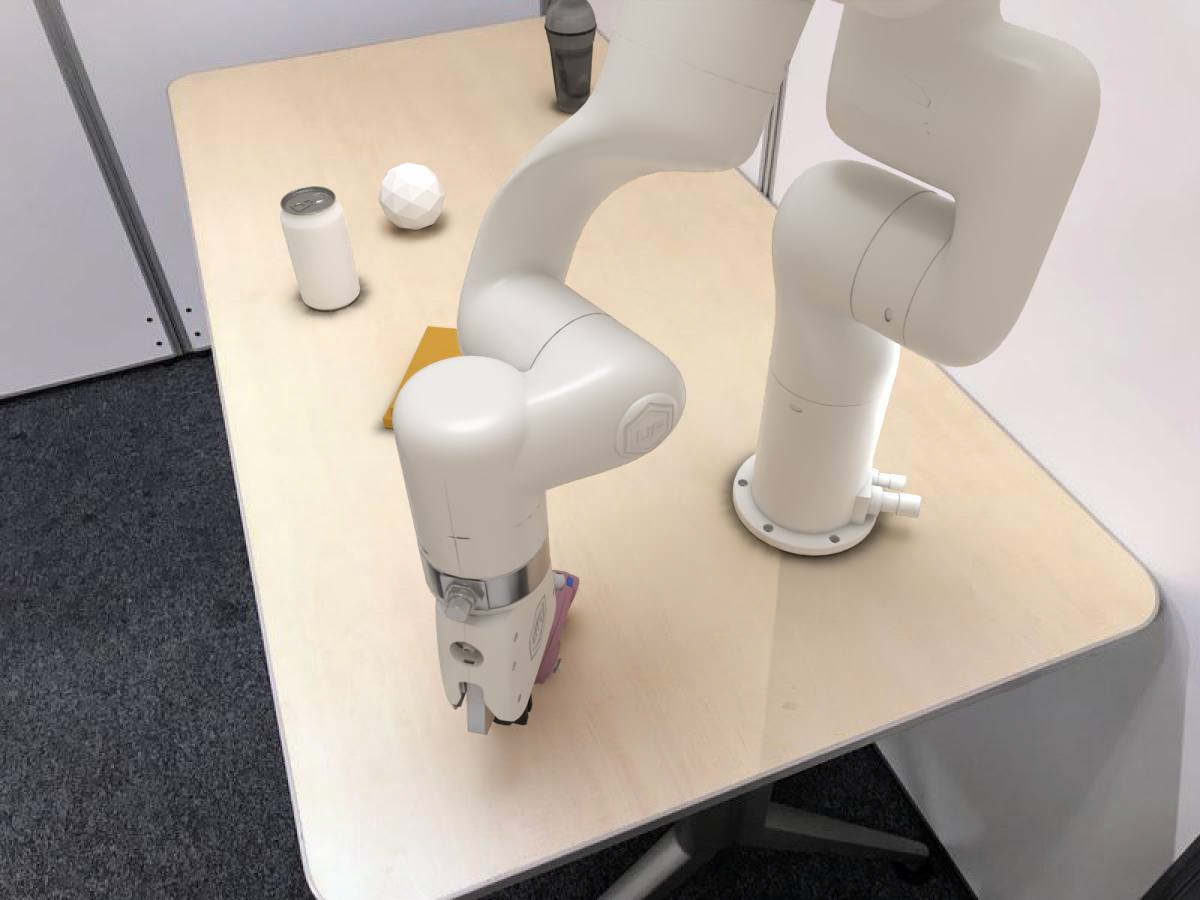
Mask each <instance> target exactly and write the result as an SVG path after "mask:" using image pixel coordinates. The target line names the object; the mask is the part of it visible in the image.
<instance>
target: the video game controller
mask: <svg viewBox="0 0 1200 900" xmlns="http://www.w3.org/2000/svg"><path fill="white" fill-rule="evenodd" d="M552 572H553V579H554V586H555V595H556V610H555V616H554V620H553V624H552V627H551V631H550V634H549V637H548V641H547V644H546V647H545V650H544V654H543V657H542V660H541V663H540V666H539V670H538V673H537V676H536V679H535V682H534V685H533V686H536V685H538V684H539V685H543V684H544V683H546V681H547V680H548V679H549V678H550V675H551V674H552V672H553V674H554V675H555V674H557V673H558V672H559V671H560V670H561V668H562V665H563V659H562V657H559V655H560V650H561V647H562V645H561V640H560V637H561V635H562V632H563V630H564V627H565V623H566V620H567V617H568V613H569V610H570V607H571V605H572V604H573V601H574V600H575V597H576V595H577V592H578V589H579V586H580V577H578V576H576V575H574V574H571V573H569V572H567V571H565V570H557V569H552Z"/></svg>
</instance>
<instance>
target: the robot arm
mask: <svg viewBox="0 0 1200 900" xmlns="http://www.w3.org/2000/svg"><path fill="white" fill-rule="evenodd" d="M830 1H831V2H835V3H837V4H840V5H843V8H842V12H841V16H840V22H839V27H838V31H837V36H836V39H835V46H834V50H833V55H832V59H831V64H830V69H829V75H828V79H827V87H826V95H825V96H826V97H825V117H826V120H827V123H828V125H829V128H830V130H831V131H832V133H833V134H834V135H835V136H836V137H837V138H838V139H839V140H840V141H841V142H843V143H844V144H845V145H847V146H848V147H850V148H852V149H853V150H855V151H857V152H858V153H861V154H862V155H864V156H866V157H868V158H870V159H872V160H875V161H876V162H879V163H881V164H883V165H885V166H887V167H890V168H892V169H893V170H895V171H898V172H900V173H902V174H905V175H907V176H909V177H911V178H913V179H915V180H917V181H920V182H922V183H925V184H927V185H929V186H931V187H934V188H935V189H938V190H940V191H942V192H945V193H947V194H949V195H950V196H952V198H953V199H954V201H953V200H951V199H949V198H947V197H945V196H942V195H939V194H938V193H937V192H935V191H934V190H932V189H929V188H927V187H924V186H922V185H920V184H918V183H916V182H914V181H911V180H909V179H907V178H905V177H903V176H900V175H898V174H896V173H893V172H892V171H889V170H887V169H884V168H883V167H879V166H876V165H873V164H871V163H867V162H863V161H858V160H853V159H830V160H825V161H822V162H820V163H818V164H815V165H812V166H810V167H809V168H807V169H806V170H804V171H803V172H802V173H800V174H799V175H798V176H797V177H796V178H795V179H794V180H793V182H792V183H791V184H790V185H789V186H788V188H787V189H786V191H785V193H784V195H783V196H782V198H781V200H780V202H779V204H778V206H777V210H776V213H775V216H774V221H773V226H772V232H771V258H772V259H771V261H772V262H771V263H772V264H771V265H772V273H773V281H774V282H773V283H774V293H775V294H774V295H775V297H774V299H775V307H774V323H773V330H772V331H773V332H772V339H771V346H770V347H771V348H770V354H769V359H768V365H767V373H766V379H765V387H764V392H763V393H764V394H763V400H762V408H761V416H760V421H759V422H760V423H759V429H758V436H757V442H756V449H755V453H754V454H752V455H751V456H750V457H748V458H747V459H746V460H745V461H744V462H743V463H742V464H741V465H740V467H739V469H738V470H737V472H736V475H735V477H734V479H733V486H732V502H733V506H734V510H735V512H736V515H737V516H738V518H739V520H740V521H741V523H742V524H743V525H744V526H745V528H746V529H747V530H748V531H749V532H750V533H751V534H753V535H754V536H755V537H756V538H757V539H759V540H761V541H762V542H764V543H766V544H767V545H770V546H771V547H774V548H776V549H779V550H781V551H784V552H786V553H787V552H788V553H791V554H796V555H805V556H827V555H832V554H833V555H834V554H837V553H841V552H844V551H847V550H849V549H851V548H853V547H854V546H856V545H858V544H859V543H861V542H863V540H864V539H865V538H866V537H868V535H869V534H870V533H871V531H872V530H873V528H874V526H875V524H876V521H877V517H878V516H879V515H880V512H882V513H889V514H895V516H899V517H906V518H912V519H918V518H919V515H920V513H921V507H922V496H921V495H917V494H911V493H904V491H905V488H906V482H907V476H906V475H901V474H895V473H890V474H889V473H884V472H879V469H878V468H873V464H874V456H875V453H876V448H877V446H878V445H877V444H878V441H879V437H880V434H881V429H882V426H883V422H884V418H885V415H886V410H887V407H888V403H889V399H890V396H891V391H892V388H893V385H894V381H895V380H896V379H895V378H896V375H897V374H896V373H897V372H898V367H899V361H900V353H901V347H902V348H904V349H905V350H908V351H910V352H912V353H913V354H916V355H918V356H919V357H921V358H923V359H926V360H928V361H930V362H932V363H935V364H937V365H940V366H944V367H949V368H966V367H971V366H974V365H976V364H978V363H980V362H982V361H984V360H985V359H988V358H989V357H990V356H991V355H992V354H993V353H995V351H996V350H998V349H999V347H1001V345H1002V344H1003V343H1004V342H1005V341H1006V339H1007V338H1008V336H1009V334H1010V333H1011V331H1012V330H1013V328H1014V327H1015V325H1016V323H1017V322H1018V320H1019V319H1020V317H1021V314H1022V312H1023V310H1024V309H1025V306H1026V304H1027V302H1028V300H1029V297H1030V294H1031V292H1032V290H1033V288H1034V285H1035V284H1036V281H1037V279H1038V276H1039V273H1040V271H1041V269H1042V266H1043V264H1044V261H1045V259H1046V257H1047V253H1048V251H1049V249H1050V247H1051V244H1052V242H1053V239H1054V237H1055V234H1056V232H1057V229H1058V227H1059V225H1060V222H1061V220H1062V218H1063V215H1064V213H1065V210H1066V207H1067V205H1068V203H1069V200H1070V198H1071V196H1072V193H1073V190H1074V188H1075V186H1076V183H1077V181H1078V179H1079V176H1080V173H1081V171H1082V168H1083V166H1084V163H1085V161H1086V158H1087V156H1088V153H1089V150H1090V148H1091V145H1092V142H1093V139H1094V136H1095V133H1096V129H1097V127H1098V126H1097V125H1098V122H1099V118H1100V117H1099V116H1100V108H1101V97H1102V95H1101V93H1102V90H1101V82H1100V78H1099V74H1098V71H1097V69H1096V68H1095V66H1094V64H1093V63H1092V61H1091V59H1090V58H1089V57H1088V56H1087V55H1086V54H1085V53H1084V52H1082V51H1081V50H1079V49H1078V48H1077V47H1075V46H1073V45H1071V44H1069V43H1068V42H1066V41H1063V40H1061V39H1058V38H1055V37H1053V36H1050V35H1047V34H1044V33H1041V32H1038V31H1035V30H1032V29H1028V28H1026V27H1023V26H1019V25H1016V24H1013V23H1010V22H1008V21H1006V20H1005V19H1004V18H1003V15H1002V13H1001V0H830ZM816 2H817V0H622V1H621V5H620V8H619V12H618V14H617V18H616V21H615V24H614V27H613V30H612V31H611V36H610V39H609V42H608V46H607V49H606V52H605V55H604V59H603V62H602V66H601V69H600V72H599V74H598V78H597V80H596V83H595V86H594V88H593V91H592V92H591V93H590V96H589V98H588V100H587V101H586V103H585V104H584V105H583V106H582V107H581V108H580V109H579V110H578V111H577V112H576V113H573V114H572V115H571V116H570V117H568V118H566V120H565V121H563V122H562V123H560V124H559V125H558V126H557V127H555V128H554V129H553V130H551V131H550V132H549V133H548V134H547V135H545V136H544V137H543V138H542V139H541V140H540V141H539V142H538V143H537V144H536V145H535V146H534V147H533V149H531V150H530V151H529V152H528V153H527V155H526V156H525V157H524V158H523V159H522V160H521V162H520V163H519V164H518V165H517V166H516V167H515V169H514V170H513V171H512V172H511V173H510V174H509V175H508V177H507V178H506V179H505V180H504V181H503V182H502V184H501V186H500V187H499V189H498V190H497V191H496V193H495V195H494V196H493V198H492V199H491V201H490V203H489V204H488V207H487V208H486V211H485V212H484V214H483V217H482V220H481V223H480V225H479V228H478V231H477V235H476V238H475V241H474V245H473V248H472V251H471V255H470V259H469V262H468V265H467V269H466V272H465V276H464V280H463V284H462V286H461V292H460V296H459V302H458V308H457V316H456V329H457V339H458V345H459V349H460V352H461V354H462V356H459V357H452V358H448V359H444V360H440V361H438V362H435V363H433V364H430V365H428V366H426V367H425V368H423V369H421V370H419V371H418V372H417V373H415V374H414V375H413V376H412V377H411V378H410V379H409V380H408V381H407V382H406V383H405V384H404V386H403V387H402V389H401V390H400V392H399V394H398V396H397V398H396V401H395V404H394V408H393V415H392V423H393V435H394V441H395V446H396V450H397V455H398V460H399V464H400V468H401V473H402V477H403V482H404V486H405V490H406V495H407V501H408V505H409V509H410V514H411V518H412V522H413V523H412V524H413V529H414V532H415V536H416V541H417V542H416V543H417V547H418V552H419V556H420V562H421V566H422V570H423V575H424V580H425V583H426V586H427V588H428V590H429V591H430V593H431V594H432V596H433V597H434V598H435V606H434V609H435V629H436V631H435V632H436V643H437V653H438V654H437V655H438V662H439V669H440V676H441V680H442V681H441V682H442V685H443V689H444V693H445V696H446V699H447V701H448V703H449V705H450V706H451V707H452V710H454V711H457V710H458V709H459V708H461V707H462V705H463V703H464V700H465V697H466V714H467V717H466V718H467V719H466V720H467V732H469V733H473V734H478V735H483V736H487V735H489V732H490V729H491V727H492V725H493V723H494V724H496V725H500V726H505V727H507V726H509V727H510V726H511V725H512V724H514V725H518V726H527V724H528V721H529V718H530V717H529V713H531V711H532V708H533V696H532V694H533V693H532V691H533V689H534V686H535V685H534V682H535V679H536V676H537V673H538V670H539V666H540V663H541V660H542V657H543V654H544V650H545V647H546V644H547V641H548V637H549V634H550V631H551V627H552V624H553V620H554V616H555V610H556V595H555V586H554V579H553V572H552V570H553V566H552V559H551V546H550V532H549V531H550V530H549V514H548V500H547V491H548V490H552V489H555V488H558V487H560V486H563V485H566V484H570V483H573V482H576V481H579V480H583V479H586V478H589V477H592V476H595V475H599V474H603V473H606V472H608V471H611V470H614V469H617V468H621V467H623V466H625V465H628V464H630V463H632V462H635V461H637V460H638V459H640V458H643V457H644V456H646V455H647V454H649V453H651V452H653V451H654V450H656V449H657V448H658V447H660V446H661V445H662V444H663V443H664V442H665V441H666V440H667V438H668V437H670V435H671V434H672V433H673V432H674V430H675V428H677V426H678V424H679V422H680V421H681V419H682V416H683V414H684V410H685V407H686V401H687V389H686V383H685V380H684V377H683V375H682V372H681V371H680V369H679V368H678V367H677V365H676V364H675V362H674V361H672V359H671V358H670V357H669V356H668V355H667V354H665V353H664V352H663V351H661V349H659V348H658V347H657V346H656V345H654V344H652V343H651V342H650V341H648V340H647V339H646V338H644V337H643V336H641V335H640V334H638V333H636V332H635V331H633V330H632V329H631V328H629V327H627V326H626V325H625V324H623V323H622V322H620V321H619V320H618V319H616V318H615V317H613V316H612V315H610V314H608V313H607V312H606V311H604V310H603V309H602V308H600V307H599V306H597V304H594V303H593V302H592V301H590V300H589V299H588V298H586V297H584V296H583V295H581V294H580V293H579V292H577V291H576V290H574V289H573V288H572V287H570V286H569V285H568V284H566V283H565V282H566V278H567V275H568V271H569V268H570V265H571V263H572V261H573V260H572V259H573V257H574V253H575V251H576V248H577V245H578V242H579V240H580V238H581V235H582V233H583V231H584V229H585V227H586V225H587V224H588V222H589V220H590V218H591V216H593V214H594V212H596V210H597V209H598V207H599V206H600V205H602V203H603V202H604V201H605V200H606V199H608V197H610V196H611V195H612V194H613V193H614V192H615V191H617V190H619V189H621V188H622V187H623V186H625V185H627V184H628V183H631V182H633V181H635V180H638V179H640V178H642V177H646V176H650V175H654V174H657V173H669V172H672V173H673V172H675V173H677V172H680V173H721V172H726V171H729V170H733V169H734V170H735V169H737V168H739V167H740V166H742V165H744V164H745V163H746V162H748V161H749V159H751V157H752V156H753V155H754V154H755V152H756V149H757V147H758V145H759V142H760V140H761V138H762V135H763V132H764V130H765V127H766V124H767V122H768V119H769V117H770V115H771V112H772V109H773V107H774V104H775V102H776V100H777V97H778V95H779V93H778V92H779V90H780V89H781V85H782V83H783V81H784V79H785V76H786V74H787V72H788V70H789V67H790V65H791V62H792V59H793V57H794V54H795V51H796V49H797V47H798V44H799V42H800V39H801V36H802V34H803V32H804V30H805V28H806V25H807V22H808V19H809V17H810V15H811V12H812V10H813V7H814V5H815V3H816ZM884 488H885V489H888V490H892V491H899V492H898V493H897V492H889V491H885V490H884Z"/></svg>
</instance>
